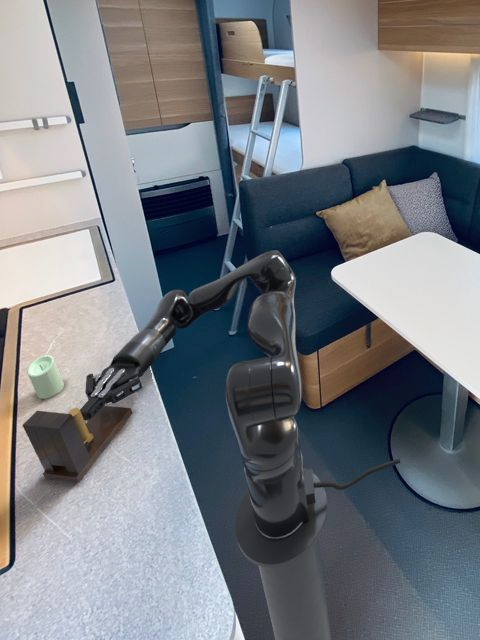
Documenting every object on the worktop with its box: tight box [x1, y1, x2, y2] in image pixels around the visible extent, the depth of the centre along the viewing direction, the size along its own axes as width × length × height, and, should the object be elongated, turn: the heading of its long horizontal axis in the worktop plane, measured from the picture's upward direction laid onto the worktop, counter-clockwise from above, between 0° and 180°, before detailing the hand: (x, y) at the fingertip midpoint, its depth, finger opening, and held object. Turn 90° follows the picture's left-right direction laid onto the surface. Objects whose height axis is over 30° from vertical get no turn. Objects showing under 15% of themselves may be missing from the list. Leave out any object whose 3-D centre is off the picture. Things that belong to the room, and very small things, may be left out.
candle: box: [26, 354, 65, 400], centre depth 94 cm, size 5×5×8 cm
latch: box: [22, 405, 133, 484], centre depth 80 cm, size 15×7×14 cm, turn 173°
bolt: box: [67, 407, 94, 444], centre depth 78 cm, size 6×2×8 cm, turn 173°
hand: (83, 417), depth 80 cm, fingers closed
